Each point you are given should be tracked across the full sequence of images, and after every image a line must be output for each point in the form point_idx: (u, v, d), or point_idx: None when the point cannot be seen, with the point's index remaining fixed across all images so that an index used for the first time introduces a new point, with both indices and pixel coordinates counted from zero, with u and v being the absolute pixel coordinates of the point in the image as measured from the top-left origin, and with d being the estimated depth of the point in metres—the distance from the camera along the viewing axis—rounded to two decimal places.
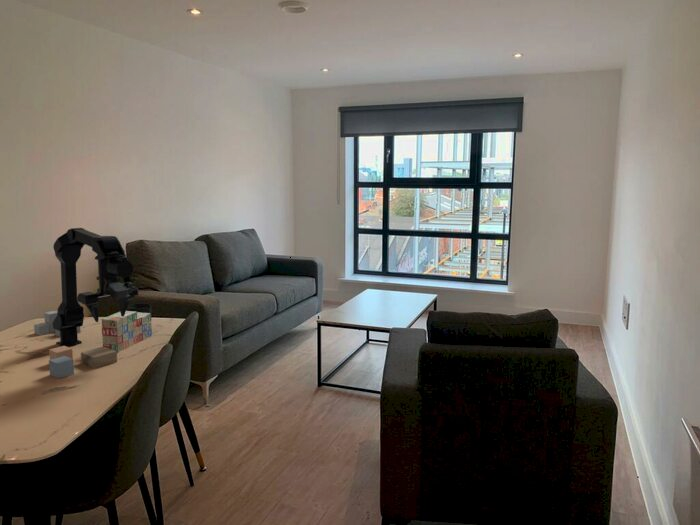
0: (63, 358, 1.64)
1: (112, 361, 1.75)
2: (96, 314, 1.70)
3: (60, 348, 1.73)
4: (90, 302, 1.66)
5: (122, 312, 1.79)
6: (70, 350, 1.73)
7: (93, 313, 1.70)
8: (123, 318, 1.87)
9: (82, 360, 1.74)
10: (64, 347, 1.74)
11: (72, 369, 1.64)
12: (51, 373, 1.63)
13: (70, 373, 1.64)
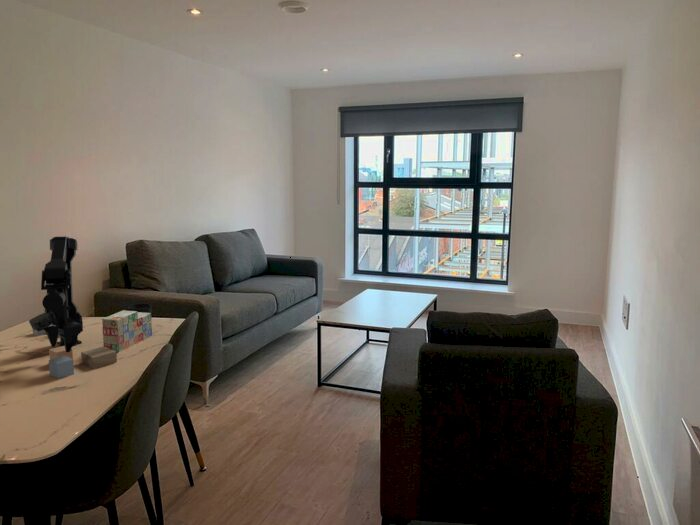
0: (63, 358, 1.64)
1: (112, 361, 1.75)
2: (49, 338, 1.74)
3: (60, 348, 1.73)
4: None
5: None
6: (70, 350, 1.73)
7: None
8: (124, 318, 1.87)
9: (82, 360, 1.74)
10: (64, 347, 1.74)
11: (72, 369, 1.64)
12: (51, 373, 1.63)
13: (70, 373, 1.64)
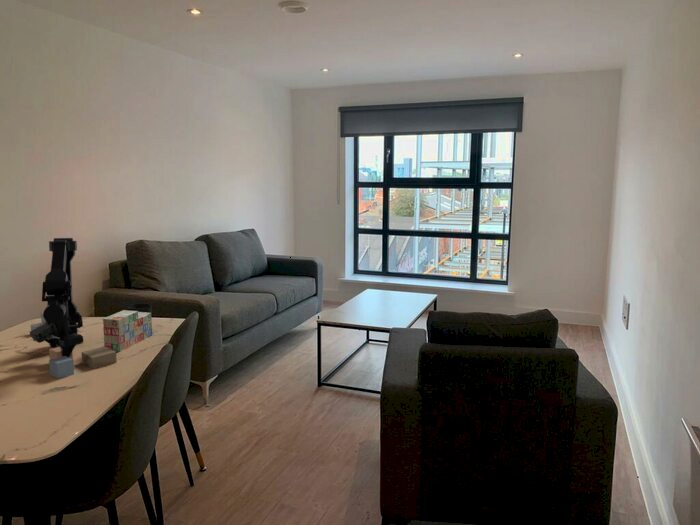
0: (63, 358, 1.64)
1: (112, 361, 1.74)
2: None
3: (60, 348, 1.73)
4: None
5: None
6: None
7: None
8: (124, 318, 1.88)
9: (82, 359, 1.74)
10: None
11: (72, 369, 1.64)
12: (51, 373, 1.63)
13: (70, 373, 1.64)
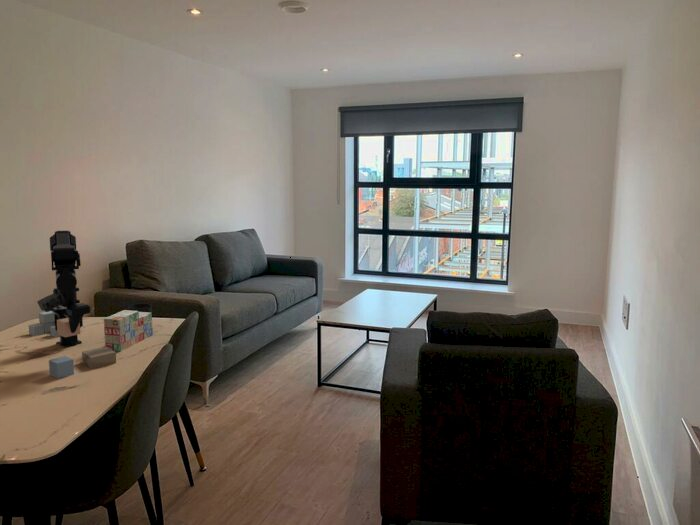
0: (63, 358, 1.64)
1: (111, 362, 1.74)
2: None
3: (67, 319, 1.72)
4: None
5: None
6: None
7: None
8: (125, 317, 1.88)
9: (83, 359, 1.74)
10: None
11: (72, 369, 1.64)
12: (51, 373, 1.63)
13: (70, 373, 1.64)
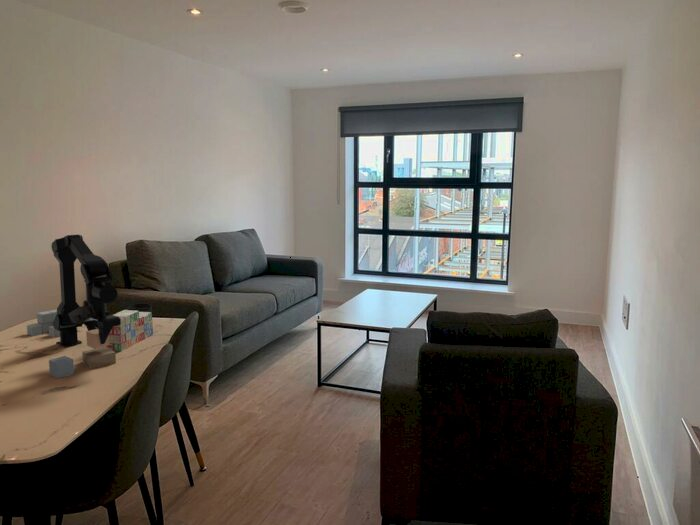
0: (63, 358, 1.64)
1: (111, 362, 1.74)
2: None
3: (97, 330, 1.74)
4: None
5: None
6: None
7: None
8: (126, 317, 1.88)
9: (83, 359, 1.75)
10: None
11: (72, 369, 1.64)
12: (51, 373, 1.63)
13: (70, 373, 1.64)
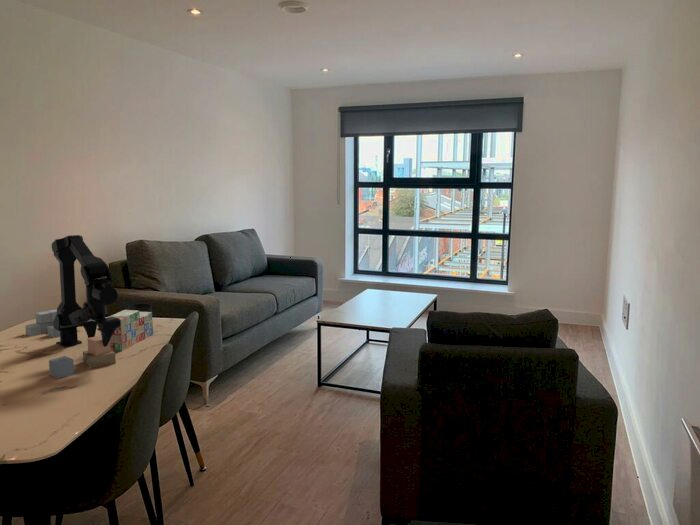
0: (63, 358, 1.64)
1: (110, 362, 1.74)
2: (87, 333, 1.75)
3: (98, 337, 1.74)
4: None
5: None
6: None
7: None
8: (126, 317, 1.88)
9: (83, 359, 1.75)
10: None
11: (72, 369, 1.64)
12: (51, 373, 1.63)
13: (70, 373, 1.64)
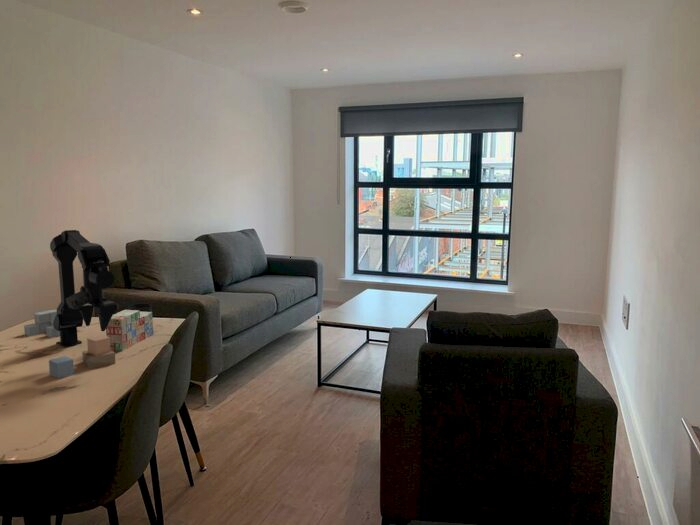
0: (63, 358, 1.64)
1: (110, 362, 1.74)
2: (83, 318, 1.75)
3: (97, 337, 1.74)
4: None
5: None
6: (108, 339, 1.74)
7: None
8: (127, 317, 1.89)
9: (83, 359, 1.75)
10: (101, 336, 1.75)
11: (72, 369, 1.64)
12: (51, 373, 1.63)
13: (70, 373, 1.64)
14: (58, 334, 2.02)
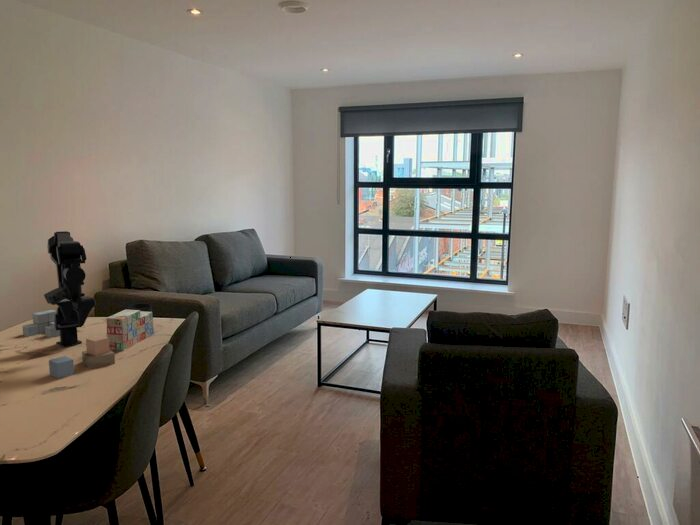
0: (63, 358, 1.64)
1: (110, 362, 1.74)
2: (62, 313, 1.79)
3: (96, 337, 1.74)
4: None
5: None
6: (107, 339, 1.74)
7: None
8: (128, 317, 1.89)
9: (83, 359, 1.75)
10: (100, 336, 1.75)
11: (72, 369, 1.64)
12: (51, 373, 1.63)
13: (70, 373, 1.64)
14: (57, 334, 2.01)
